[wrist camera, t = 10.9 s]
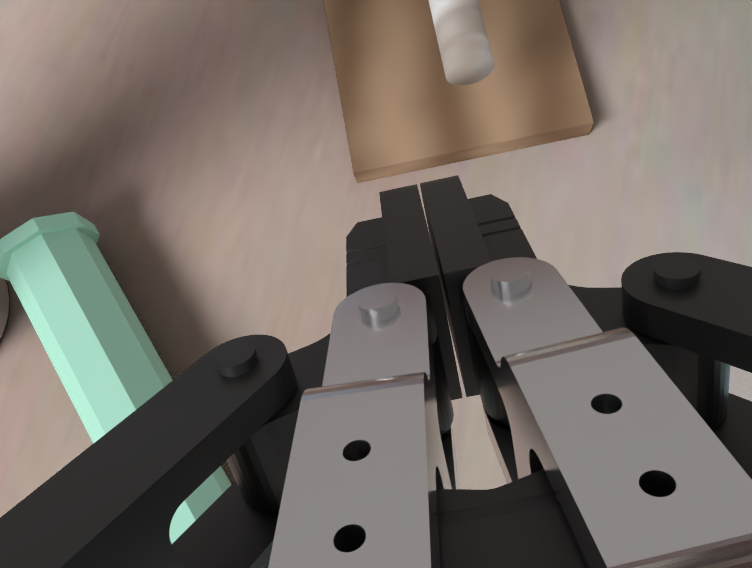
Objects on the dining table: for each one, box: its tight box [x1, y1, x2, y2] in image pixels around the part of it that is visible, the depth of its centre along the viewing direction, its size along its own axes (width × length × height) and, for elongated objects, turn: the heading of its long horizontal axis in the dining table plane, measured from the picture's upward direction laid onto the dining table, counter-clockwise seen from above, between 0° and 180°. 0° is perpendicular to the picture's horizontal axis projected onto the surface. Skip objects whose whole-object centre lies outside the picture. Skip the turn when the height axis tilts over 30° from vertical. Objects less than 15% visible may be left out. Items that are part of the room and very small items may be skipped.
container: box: [0, 211, 231, 543], centre depth 36 cm, size 6×6×25 cm
